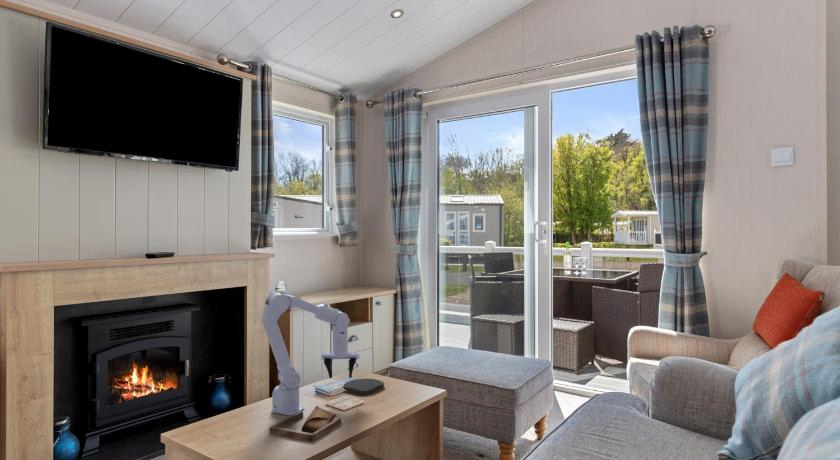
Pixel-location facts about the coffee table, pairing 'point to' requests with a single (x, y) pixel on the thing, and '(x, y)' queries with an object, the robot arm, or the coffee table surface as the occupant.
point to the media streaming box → (363, 386)
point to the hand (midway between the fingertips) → (340, 377)
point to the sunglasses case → (317, 420)
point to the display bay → (280, 430)
